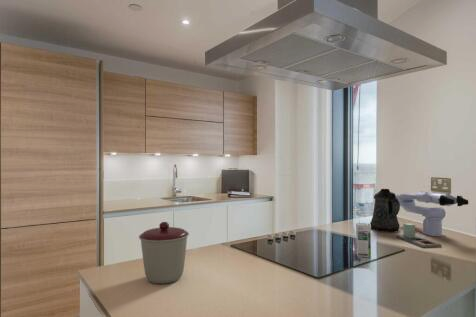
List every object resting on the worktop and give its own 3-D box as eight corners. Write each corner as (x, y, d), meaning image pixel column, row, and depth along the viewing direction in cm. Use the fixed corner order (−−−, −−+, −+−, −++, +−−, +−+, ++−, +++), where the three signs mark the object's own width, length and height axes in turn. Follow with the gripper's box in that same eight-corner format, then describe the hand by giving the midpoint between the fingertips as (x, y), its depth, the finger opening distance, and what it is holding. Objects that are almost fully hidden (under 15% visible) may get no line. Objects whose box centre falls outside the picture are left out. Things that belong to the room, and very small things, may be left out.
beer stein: (378, 225, 208) (377, 187, 208) (409, 230, 193) (409, 189, 193) (365, 229, 197) (364, 189, 197) (397, 234, 182) (396, 191, 182)
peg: (403, 238, 175) (403, 223, 175) (410, 237, 176) (410, 223, 176) (408, 239, 171) (408, 225, 171) (415, 239, 172) (415, 224, 172)
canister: (137, 273, 123) (137, 219, 123) (184, 267, 130) (183, 216, 130) (140, 291, 106) (140, 229, 106) (194, 284, 113) (193, 224, 113)
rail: (396, 237, 177) (396, 234, 177) (412, 236, 178) (412, 234, 178) (423, 247, 156) (423, 244, 156) (441, 246, 157) (441, 244, 157)
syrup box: (357, 256, 142) (356, 224, 142) (356, 253, 148) (356, 222, 148) (370, 258, 141) (370, 225, 141) (369, 254, 146) (369, 222, 146)
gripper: (429, 191, 176) (447, 193, 162) (453, 192, 177) (474, 194, 163) (429, 204, 175) (447, 207, 162) (453, 205, 177) (473, 208, 163)
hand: (460, 202), depth 163 cm, fingers open, 7 cm apart
